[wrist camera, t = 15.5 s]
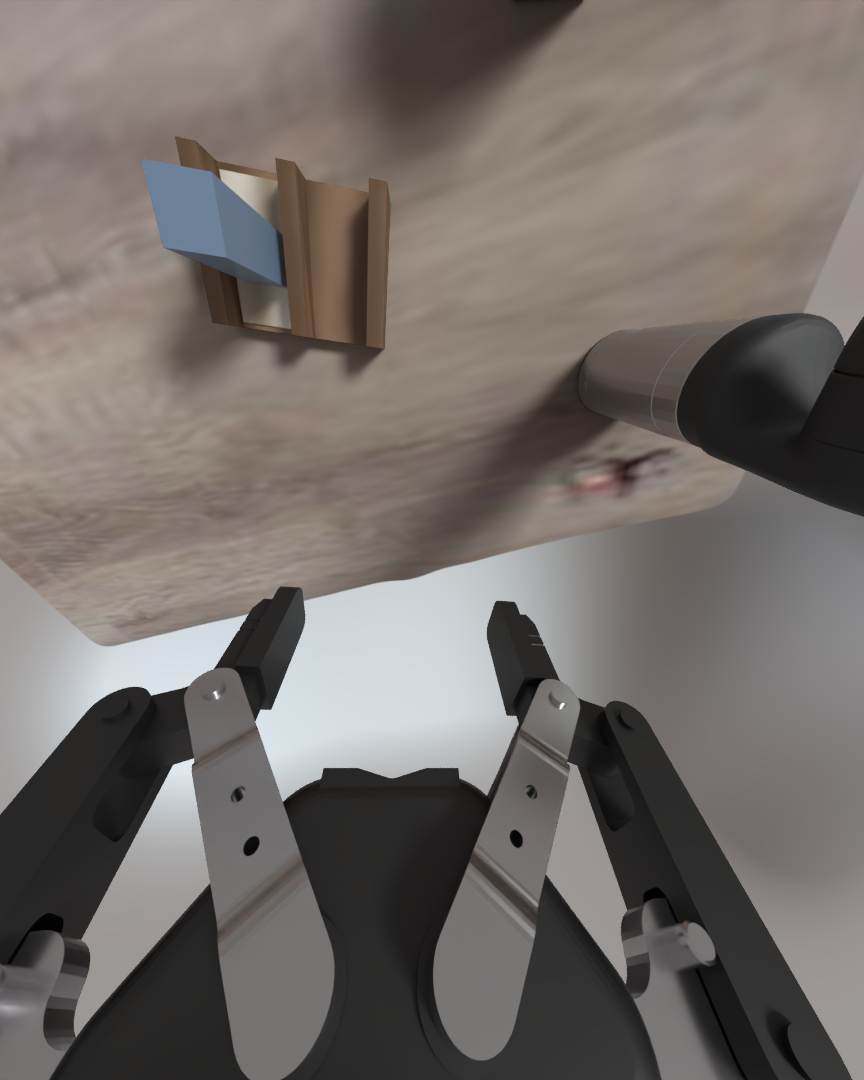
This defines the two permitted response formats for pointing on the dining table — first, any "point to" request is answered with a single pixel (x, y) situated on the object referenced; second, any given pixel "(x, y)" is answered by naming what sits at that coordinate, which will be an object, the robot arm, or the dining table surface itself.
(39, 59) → the dining table surface
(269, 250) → the block
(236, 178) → the rack
